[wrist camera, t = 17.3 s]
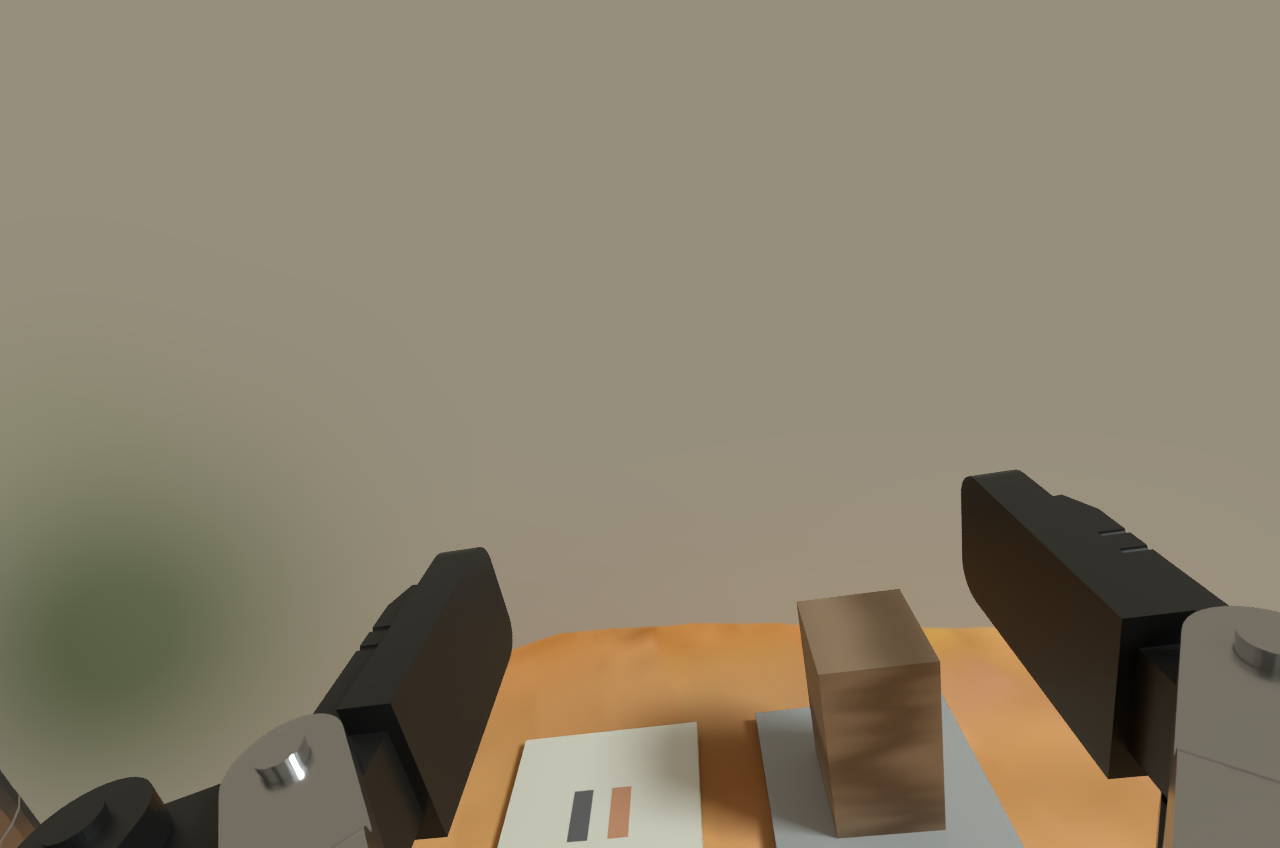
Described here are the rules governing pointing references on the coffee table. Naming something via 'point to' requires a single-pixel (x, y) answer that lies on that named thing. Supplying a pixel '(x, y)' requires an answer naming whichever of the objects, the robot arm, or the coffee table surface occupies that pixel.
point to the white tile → (608, 791)
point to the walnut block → (875, 713)
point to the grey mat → (808, 842)
